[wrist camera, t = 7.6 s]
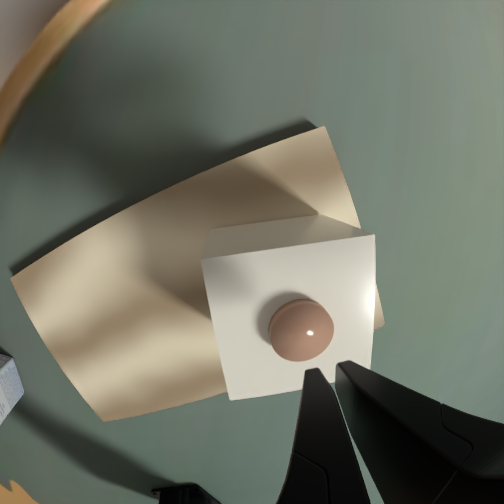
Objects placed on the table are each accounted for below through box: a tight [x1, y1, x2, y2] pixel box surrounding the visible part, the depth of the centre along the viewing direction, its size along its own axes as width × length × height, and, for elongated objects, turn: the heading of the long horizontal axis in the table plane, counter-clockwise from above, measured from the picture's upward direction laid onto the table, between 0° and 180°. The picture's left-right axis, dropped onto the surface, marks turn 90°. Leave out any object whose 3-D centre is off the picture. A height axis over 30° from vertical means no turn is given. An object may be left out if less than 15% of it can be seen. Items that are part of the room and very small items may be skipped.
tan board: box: [10, 126, 385, 422], centre depth 16 cm, size 14×24×4 cm, turn 112°
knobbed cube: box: [201, 215, 375, 400], centre depth 14 cm, size 6×6×7 cm
